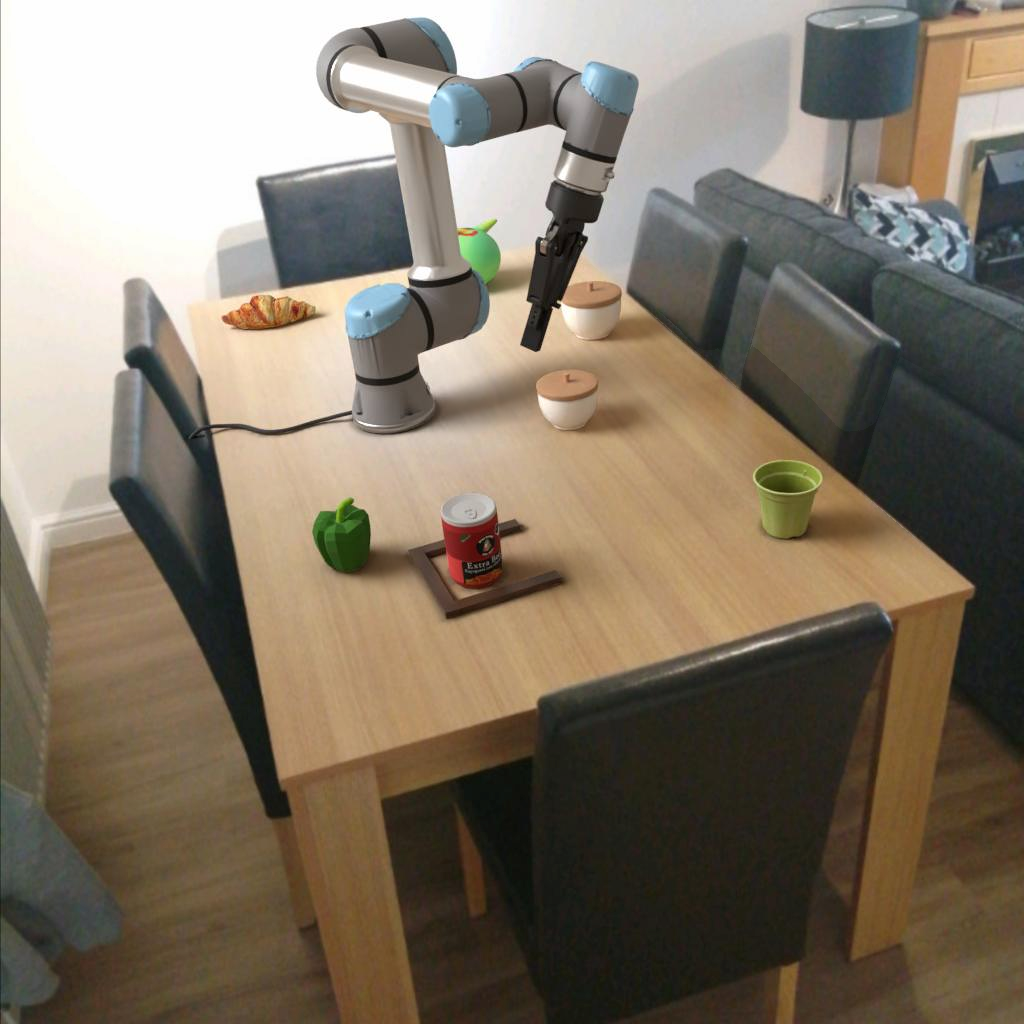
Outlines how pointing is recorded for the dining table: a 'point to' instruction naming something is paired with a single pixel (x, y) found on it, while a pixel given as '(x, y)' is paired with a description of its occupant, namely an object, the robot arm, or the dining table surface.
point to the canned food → (472, 539)
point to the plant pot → (786, 496)
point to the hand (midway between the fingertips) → (530, 347)
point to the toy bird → (480, 249)
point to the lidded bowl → (591, 308)
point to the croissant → (268, 312)
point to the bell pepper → (343, 536)
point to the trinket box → (568, 398)
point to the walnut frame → (480, 599)
